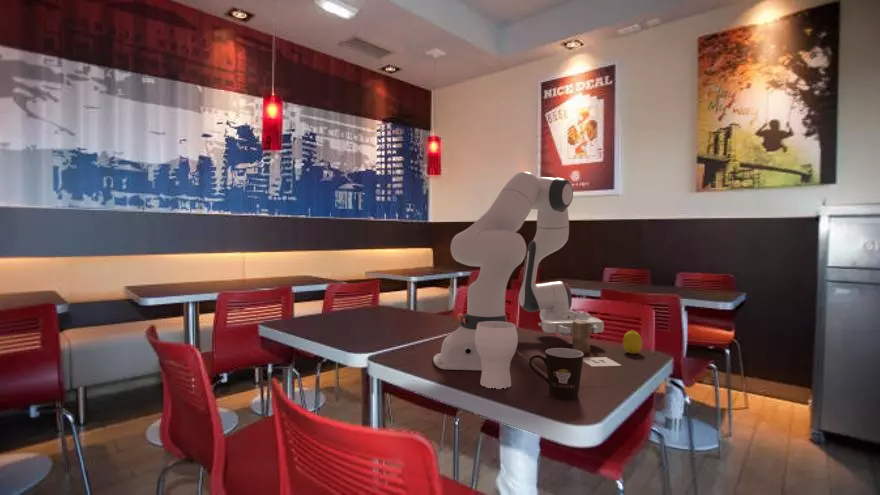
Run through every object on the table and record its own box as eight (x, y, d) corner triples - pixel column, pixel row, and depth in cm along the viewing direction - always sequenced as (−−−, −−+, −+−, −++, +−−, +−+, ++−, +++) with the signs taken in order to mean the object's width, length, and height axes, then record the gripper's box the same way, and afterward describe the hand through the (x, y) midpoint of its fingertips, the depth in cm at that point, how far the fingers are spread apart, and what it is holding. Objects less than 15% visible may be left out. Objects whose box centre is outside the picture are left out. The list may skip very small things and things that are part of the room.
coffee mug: (589, 395, 103) (590, 352, 103) (571, 404, 97) (572, 359, 97) (545, 383, 111) (546, 344, 111) (526, 391, 105) (527, 350, 105)
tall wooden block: (577, 355, 140) (578, 323, 139) (572, 351, 143) (572, 321, 143) (589, 354, 140) (590, 323, 140) (584, 351, 144) (584, 320, 144)
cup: (524, 389, 107) (525, 327, 106) (482, 393, 104) (483, 329, 104) (507, 376, 117) (507, 319, 117) (469, 379, 115) (469, 321, 114)
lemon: (644, 357, 137) (645, 331, 137) (626, 357, 137) (627, 331, 137) (637, 353, 142) (637, 328, 142) (619, 352, 142) (620, 328, 142)
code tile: (591, 368, 125) (591, 366, 125) (578, 359, 134) (578, 357, 134) (621, 367, 126) (621, 365, 126) (606, 359, 135) (606, 356, 135)
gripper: (536, 314, 154) (551, 321, 140) (592, 313, 156) (612, 320, 143) (536, 332, 154) (550, 341, 140) (591, 330, 156) (611, 339, 143)
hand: (582, 330), depth 141 cm, fingers open, 8 cm apart
